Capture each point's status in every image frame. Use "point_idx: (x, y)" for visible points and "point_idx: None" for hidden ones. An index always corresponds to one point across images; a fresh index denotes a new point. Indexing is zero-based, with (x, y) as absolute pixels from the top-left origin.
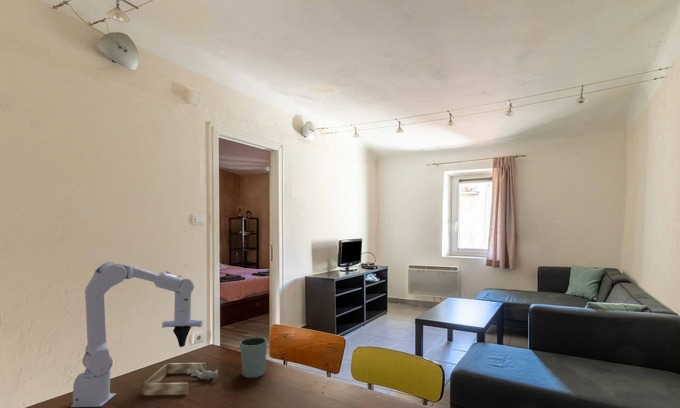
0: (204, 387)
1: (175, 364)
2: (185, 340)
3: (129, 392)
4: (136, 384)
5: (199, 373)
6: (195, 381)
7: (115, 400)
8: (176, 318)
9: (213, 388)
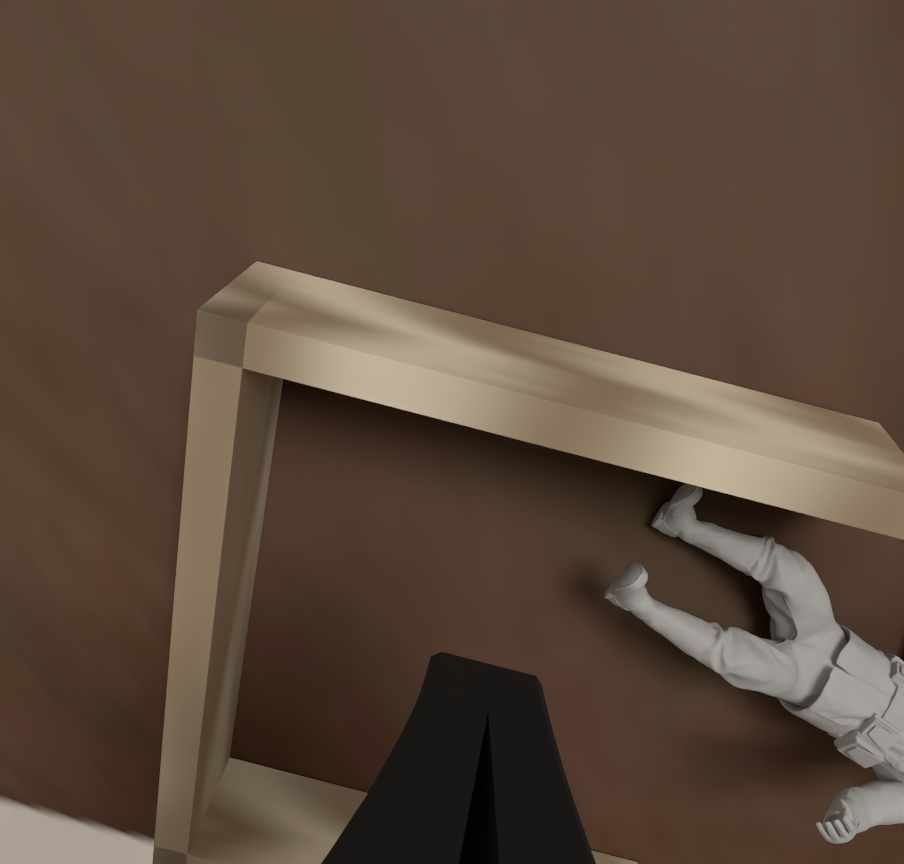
0: (808, 815)
1: (383, 403)
2: (555, 805)
3: (50, 683)
4: (18, 529)
5: (784, 696)
6: None
7: (11, 780)
8: None
9: (900, 859)
